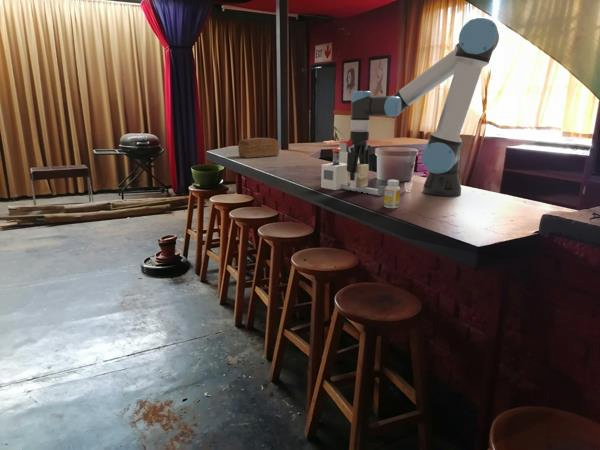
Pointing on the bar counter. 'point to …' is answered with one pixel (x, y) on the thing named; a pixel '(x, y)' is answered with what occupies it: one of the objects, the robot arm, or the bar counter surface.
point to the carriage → (360, 175)
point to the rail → (366, 189)
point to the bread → (258, 147)
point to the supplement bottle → (392, 194)
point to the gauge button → (336, 155)
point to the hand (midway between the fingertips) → (357, 186)
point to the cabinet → (333, 176)
